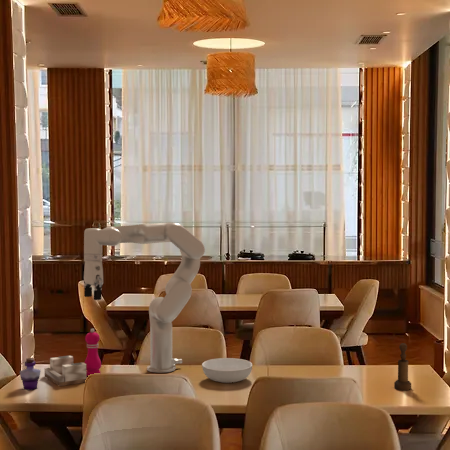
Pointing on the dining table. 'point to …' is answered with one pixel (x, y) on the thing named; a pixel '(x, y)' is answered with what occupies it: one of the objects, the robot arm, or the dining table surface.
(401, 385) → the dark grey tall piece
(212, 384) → the dining table surface
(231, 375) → the serving bowl
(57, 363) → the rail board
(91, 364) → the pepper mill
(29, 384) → the potion bottle
